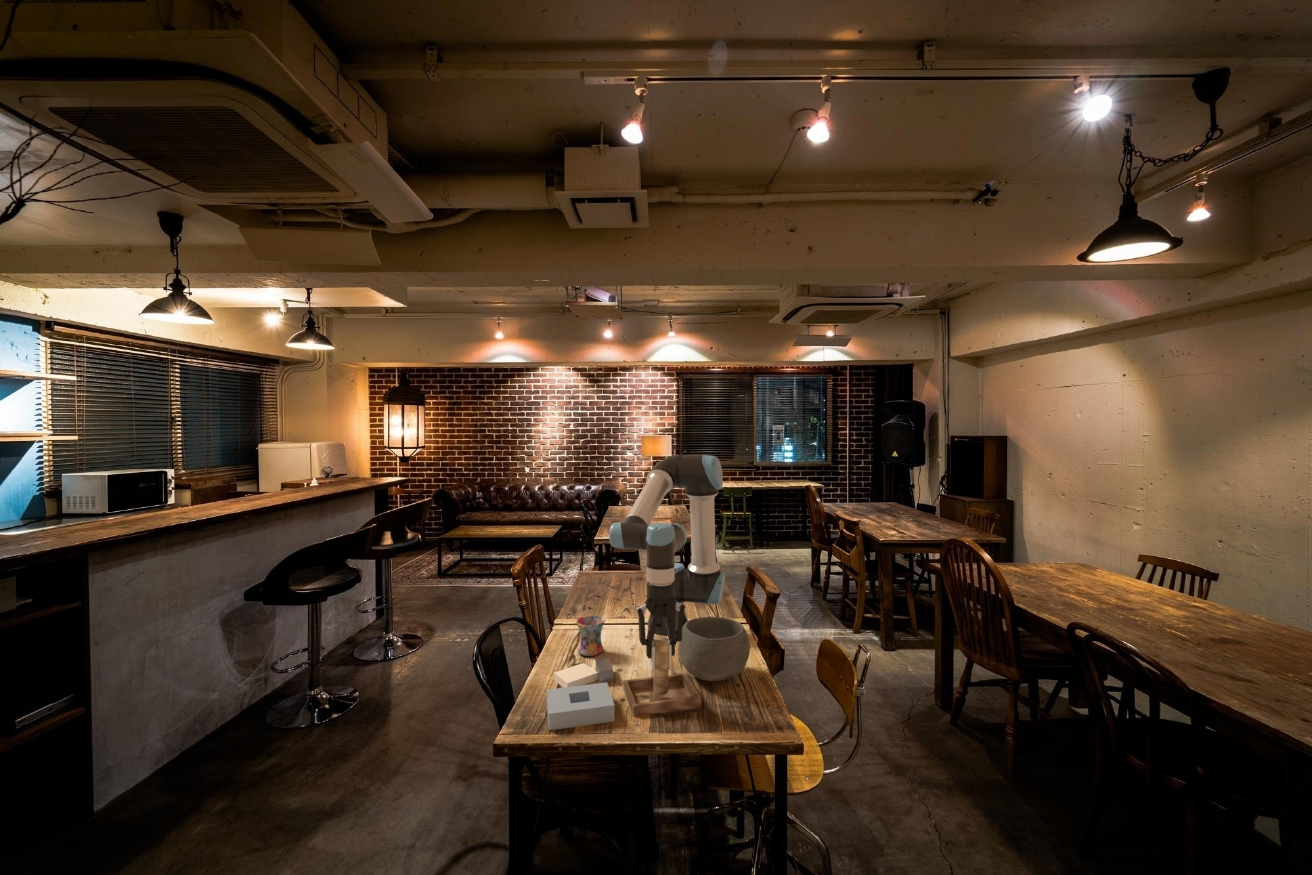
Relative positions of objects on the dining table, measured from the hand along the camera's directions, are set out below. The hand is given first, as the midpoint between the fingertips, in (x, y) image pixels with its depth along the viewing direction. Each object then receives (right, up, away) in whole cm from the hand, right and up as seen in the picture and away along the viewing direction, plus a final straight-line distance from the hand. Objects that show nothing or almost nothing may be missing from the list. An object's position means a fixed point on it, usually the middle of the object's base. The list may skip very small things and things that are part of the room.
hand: (660, 668), depth 140 cm
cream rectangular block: (-25, -9, +10) cm, 28 cm away
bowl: (+16, -9, +15) cm, 23 cm away
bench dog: (-17, -9, +13) cm, 23 cm away
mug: (-23, -9, +33) cm, 41 cm away
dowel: (0, -6, 0) cm, 6 cm away
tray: (0, -9, 0) cm, 9 cm away
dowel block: (-21, -9, -7) cm, 24 cm away
